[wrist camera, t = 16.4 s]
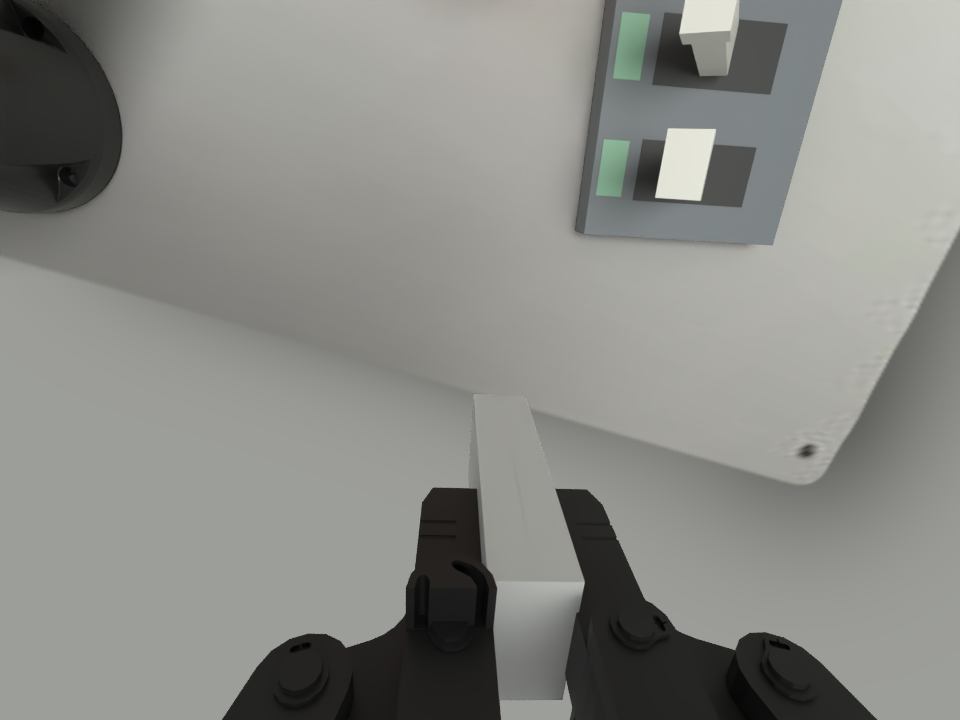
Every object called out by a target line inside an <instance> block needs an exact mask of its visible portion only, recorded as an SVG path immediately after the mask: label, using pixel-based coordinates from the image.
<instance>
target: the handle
mask: <svg viewBox="0 0 960 720" xmlns="http://www.w3.org/2000/svg"><path fill="white" fill-rule="evenodd" d="M739 1H740V0H685V5H684V10H683V15H682V21H681V26H680V32H679V35H680V38H681V41H682V44H683V45H686V44H691V45H692V49H693V53H694V56H695V60H696V64H697V68H698V71H699V75H700V76H725V75H728V70H729V66H730V61H731V57H732V52H733V48H734V43H735V39H736V34H737V29H738V25H739Z"/></svg>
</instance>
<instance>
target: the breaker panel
mask: <svg viewBox="0 0 960 720" xmlns="http://www.w3.org/2000/svg"><path fill="white" fill-rule="evenodd" d="M841 3H842V0H740V1H739V25H738V29H737V34H736V39H735V43H734V48H733V52H732V57H731V61H730V66H729V70H728V75H725V76H700V75H699V71H698V68H697V64H696V60H695V56H694V53H693V49H692V45H691V44H686V45H683V44H682V41H681V38H680V35H679V32H680V26H681V21H682V15H683V10H684V5H685V0H606V2H605V9H604V17H603V24H602V32H601V39H600V47H599V54H598V62H597V70H596V77H595V85H594V92H593V100H592V107H591V115H590V122H589V130H588V138H587V145H586V153H585V160H584V168H583V175H582V183H581V191H580V198H579V206H578V213H577V221H576V228H575V230H576V231H578V232H580V233H583V234H592V235H608V236H625V237H642V238H658V239H675V240H692V241H708V242H725V243H742V244H758V245H773V242H774V238H775V235H776V231H777V228H778V224H779V221H780V217H781V214H782V210H783V207H784V203H785V200H786V196H787V193H788V189H789V186H790V182H791V179H792V175H793V172H794V168H795V165H796V161H797V158H798V154H799V151H800V147H801V144H802V140H803V137H804V133H805V130H806V126H807V123H808V119H809V116H810V112H811V109H812V105H813V102H814V98H815V95H816V91H817V88H818V84H819V81H820V77H821V74H822V70H823V67H824V63H825V60H826V56H827V53H828V49H829V46H830V42H831V39H832V35H833V32H834V28H835V25H836V21H837V18H838V14H839V10H840V7H841ZM668 128H676V129H716V136H715V140H714V145H713V149H712V154H711V158H710V163H709V167H708V172H707V176H706V181H705V185H704V190H703V194H702V198H701V201H694V200H680V199H666V198H655V195H656V190H657V184H658V179H659V174H660V169H661V163H662V158H663V153H664V147H665V142H666V137H667V131H668Z"/></svg>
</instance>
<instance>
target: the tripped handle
mask: <svg viewBox="0 0 960 720" xmlns="http://www.w3.org/2000/svg"><path fill="white" fill-rule="evenodd" d="M715 136H716V129H676V128H668V131H667V137H666V142H665V147H664V153H663V158H662V163H661V169H660V174H659V179H658V184H657V190H656V195H655V198H666V199H680V200H694V201H701V198H702V194H703V190H704V185H705V181H706V176H707V172H708V167H709V163H710V158H711V154H712V149H713V145H714V140H715Z"/></svg>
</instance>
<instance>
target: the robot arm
mask: <svg viewBox="0 0 960 720" xmlns="http://www.w3.org/2000/svg"><path fill="white" fill-rule="evenodd" d="M120 147H121V126H120V119H119V113H118V109H117V105H116V101H115V98H114V95H113V93H112V90H111V87H110V85H109V83H108V81H107V79H106V77H105V75H104V73H103V71H102V69H101V67H100V66H99V64H98V62H97V61H96V59H95V58H94V56H93V55H92V54H91V52H90V51H89V50H88V48H87V47H86V46H85V44H84V43H83V42H82V41H81V40H80V39H79V37H78V36H77V35H76V34H75V33H74V32H73V31H72V30H71V29H70V28H69V27H68V26H67V25H66V24H64V23H63V22H62V21H61V20H60V19H59V18H57V17H56V16H55V15H53V14H52V13H51V12H49V11H48V10H47V9H45V8H44V7H42V6H40V5H39V4H37V3H36V2H34V1H32V0H0V210H2V211H8V212H17V213H42V212H55V211H63V210H68V209H71V208H75V207H77V206H80V205H82V204H84V203H86V202H88V201H89V200H91V199H92V198H94V197H95V196H96V195H97V194H98V193H99V192H100V191H101V190H102V189H103V188H104V187H105V186H106V185H107V183H108V182H109V180H110V178H111V177H112V175H113V173H114V170H115V168H116V165H117V162H118V158H119V154H120ZM470 444H471V445H470V459H469V488H468V489H467V488H433V489H432V490H431V491H430V493H429V494H428V495H427V497H426V498H425V499H424V501H423V502H422V509H421V518H420V528H419V538H418V546H417V555H416V564H415V570H414V571H413V572H412V574H411V576H410V578H409V581H408V584H407V586H406V614H405V616H404V617H403V619H402V620H401V621H400V622H399V623H398V624H397V625H396V626H395V627H394V628H393V629H391V630H390V631H388V632H387V633H386V634H384V635H382V636H379V637H377V638H375V639H373V640H370V641H367V642H364V643H360V644H357V645H354V646H351V647H348V648H345V646H344V645H343V644H342V642H341V641H339V640H337V639H335V638H333V637H331V636H328V635H327V634H306V635H302V636H299V637H296V638H292V639H289V640H288V641H286V642H285V643H283V644H281V645H280V646H278V647H277V648H275V649H274V650H272V651H271V652H270V653H269V654H268V655H267V656H266V658H265V659H264V660H263V661H262V662H261V663H260V664H259V665H258V667H257V668H256V670H255V671H254V672H253V674H252V675H251V677H250V678H249V680H248V682H247V683H246V684H245V686H244V687H243V689H242V690H241V692H240V694H239V695H238V697H237V698H236V699H235V701H234V703H233V704H232V706H231V707H230V709H229V710H228V712H227V713H226V715H225V716H224V718H223V719H222V720H501V716H500V705H499V704H500V703H499V700H562V699H563V694H564V689H565V683H566V681H567V685H568V690H569V694H570V699H571V703H572V712H571V717H570V720H877V719H876V718H875V717H874V716H873V715H872V714H871V713H870V712H869V711H868V710H867V709H866V708H865V707H864V706H863V705H862V704H861V703H860V702H859V701H858V700H857V699H856V698H855V697H854V696H853V695H852V694H851V693H850V692H849V691H848V690H847V689H846V688H845V687H844V686H843V685H842V684H841V683H840V682H839V681H838V680H837V679H836V678H835V677H834V676H833V675H832V674H831V673H830V672H829V671H828V670H827V669H826V668H825V667H824V666H823V665H822V664H821V663H820V662H819V661H818V660H817V659H815V658H814V657H813V656H812V655H811V654H809V653H808V652H807V651H806V650H805V649H803V648H802V647H800V646H798V645H796V644H794V643H793V642H791V641H789V640H787V639H785V638H783V637H780V636H776V635H773V634H769V633H765V632H763V633H749V634H747V635H746V636H744V637H743V638H741V639H740V640H739V642H738V645H737V647H736V650H732V649H729V648H725V647H722V646H719V645H716V644H712V643H709V642H705V641H702V640H698V639H695V638H693V637H690V636H688V635H685V634H683V633H681V632H679V631H677V630H676V629H675V627H674V626H673V625H672V623H671V622H670V620H669V619H668V617H667V616H666V615H665V614H664V613H663V612H662V611H660V610H659V609H658V608H657V607H656V606H654V605H653V604H652V603H650V602H648V601H646V600H645V599H644V597H643V595H642V593H641V591H640V588H639V586H638V584H637V581H636V579H635V577H634V575H633V572H632V570H631V568H630V566H629V563H628V561H627V559H626V557H625V555H624V552H623V550H622V548H621V546H620V544H619V541H618V540H617V539H616V535H615V532H614V530H613V528H612V526H611V525H610V521H609V519H608V517H607V514H606V512H605V510H604V508H603V505H602V504H601V503H600V502H599V501H598V500H597V499H596V498H595V497H594V496H593V495H592V494H591V493H590V492H588V490H582V489H581V490H580V489H555V487H554V484H553V480H552V477H551V474H550V471H549V468H548V465H547V462H546V459H545V455H544V452H543V449H542V446H541V443H540V439H539V436H538V433H537V430H536V427H535V424H534V421H533V417H532V414H531V411H530V408H529V405H528V402H527V399H526V396H510V395H482V394H474V395H473V412H472V428H471V443H470Z"/></svg>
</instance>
